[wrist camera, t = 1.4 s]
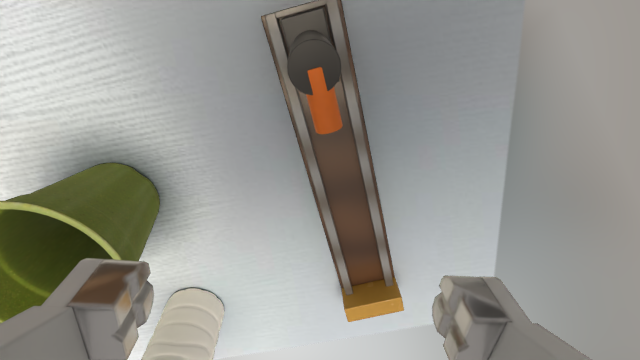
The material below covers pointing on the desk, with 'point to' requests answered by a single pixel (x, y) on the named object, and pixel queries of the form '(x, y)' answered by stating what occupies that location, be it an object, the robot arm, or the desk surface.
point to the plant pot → (71, 230)
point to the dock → (372, 300)
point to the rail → (338, 158)
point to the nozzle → (314, 66)
